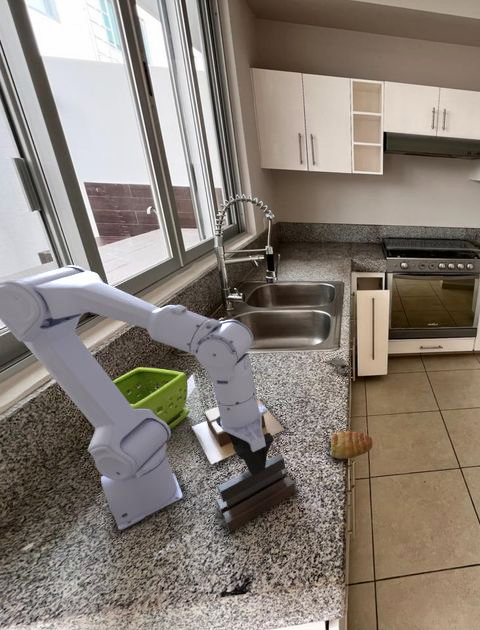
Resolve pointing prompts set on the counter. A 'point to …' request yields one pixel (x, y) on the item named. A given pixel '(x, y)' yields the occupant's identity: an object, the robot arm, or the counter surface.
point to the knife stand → (256, 503)
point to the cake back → (212, 416)
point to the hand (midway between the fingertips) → (249, 459)
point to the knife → (251, 482)
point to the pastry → (349, 444)
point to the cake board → (220, 453)
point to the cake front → (222, 435)
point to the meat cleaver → (339, 365)
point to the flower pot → (156, 392)
